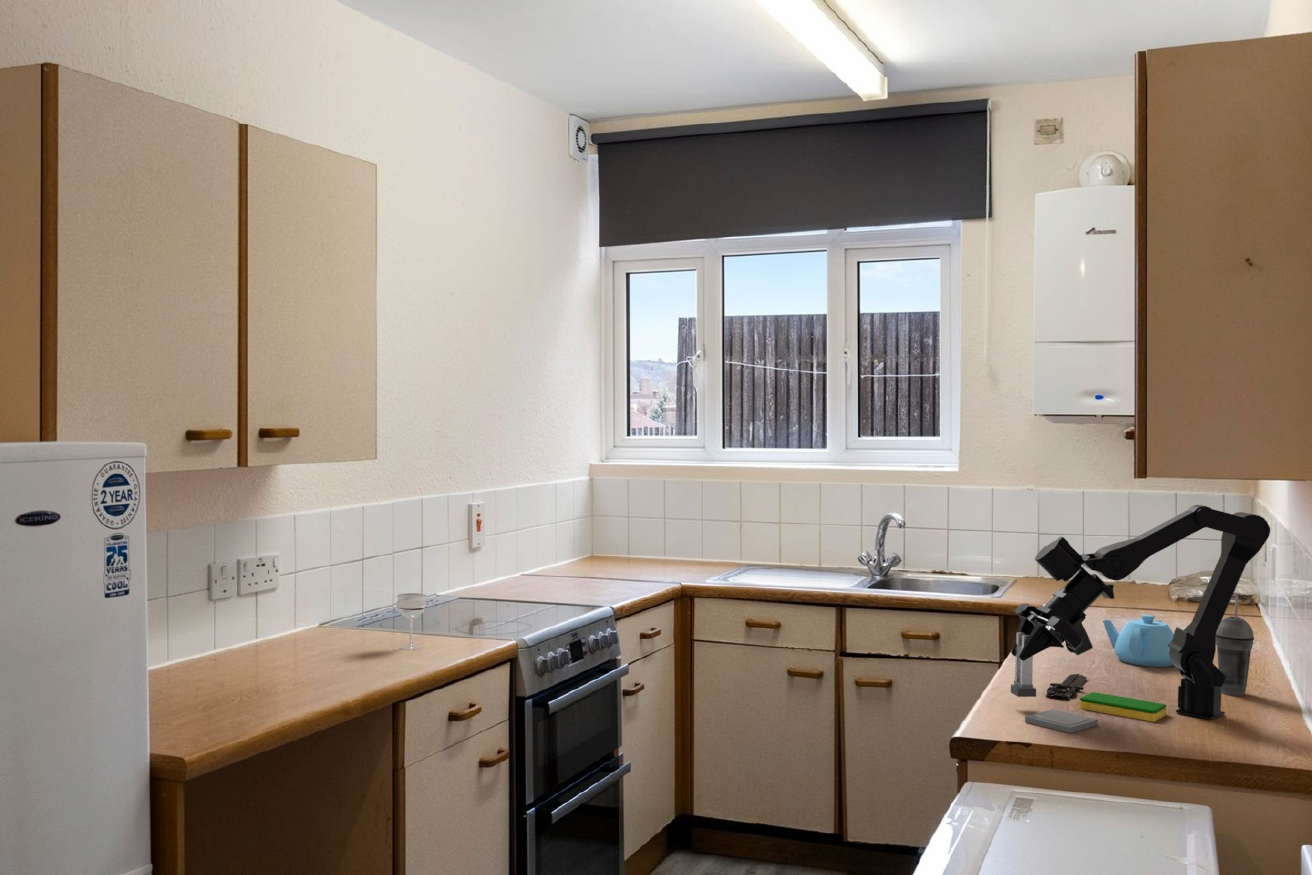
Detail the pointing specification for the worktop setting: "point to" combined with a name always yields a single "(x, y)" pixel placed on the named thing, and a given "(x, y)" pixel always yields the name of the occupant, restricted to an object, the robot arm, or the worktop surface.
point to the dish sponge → (1123, 706)
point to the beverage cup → (1234, 653)
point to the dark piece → (1072, 688)
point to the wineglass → (411, 611)
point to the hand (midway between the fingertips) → (1016, 656)
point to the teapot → (1142, 642)
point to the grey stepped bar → (1023, 671)
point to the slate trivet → (1061, 721)
